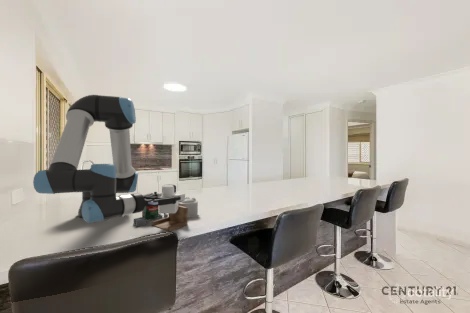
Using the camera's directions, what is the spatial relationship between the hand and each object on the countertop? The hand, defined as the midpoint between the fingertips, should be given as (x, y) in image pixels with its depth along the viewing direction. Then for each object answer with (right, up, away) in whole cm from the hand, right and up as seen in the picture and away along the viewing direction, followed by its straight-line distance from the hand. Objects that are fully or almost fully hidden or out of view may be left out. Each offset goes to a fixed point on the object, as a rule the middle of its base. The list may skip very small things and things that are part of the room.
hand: (176, 195), depth 101 cm
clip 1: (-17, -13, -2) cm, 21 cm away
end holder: (-3, -13, -3) cm, 14 cm away
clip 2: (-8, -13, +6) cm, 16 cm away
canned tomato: (-16, -13, +8) cm, 22 cm away
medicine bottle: (-3, -7, -4) cm, 8 cm away
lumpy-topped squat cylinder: (+1, -13, +16) cm, 21 cm away
